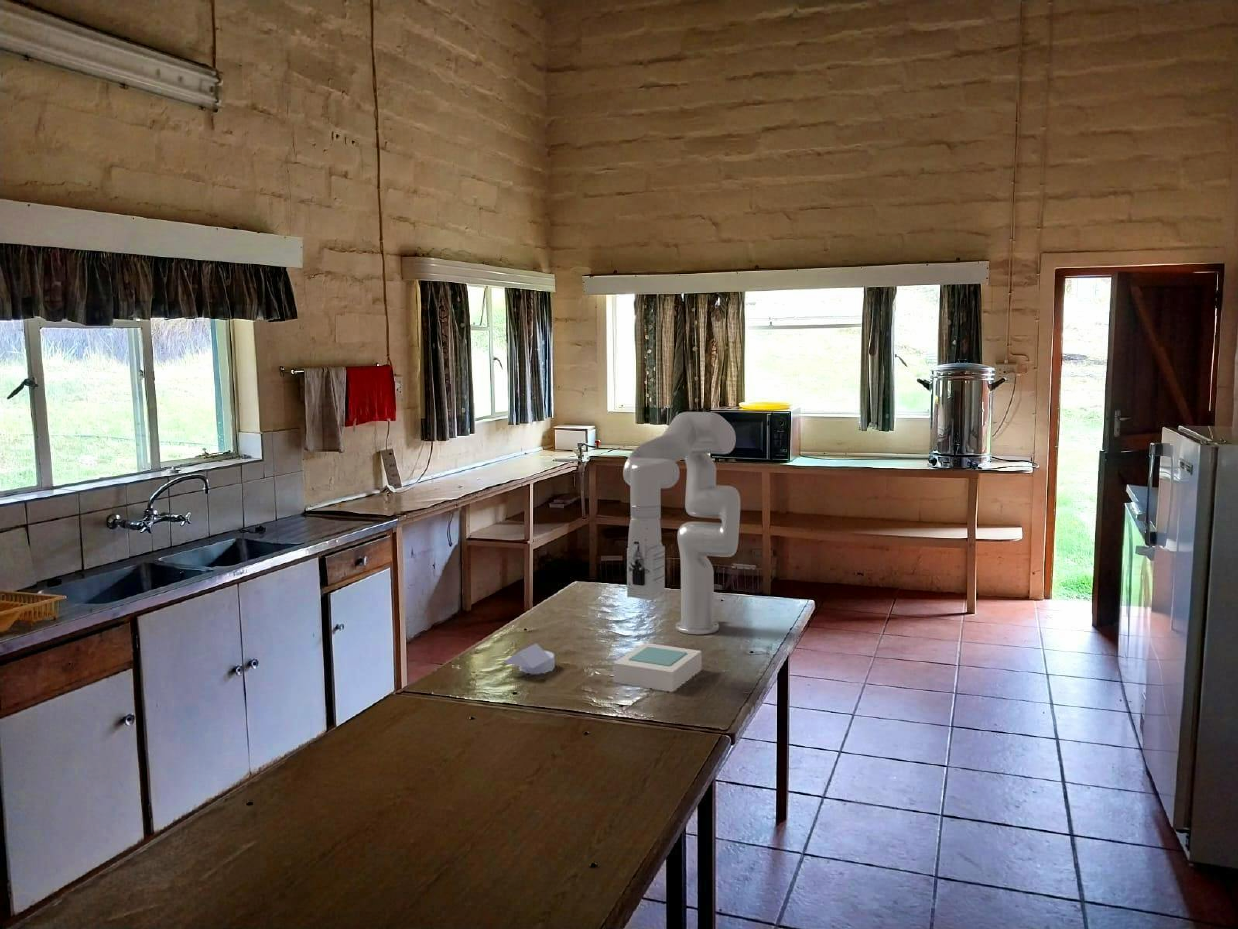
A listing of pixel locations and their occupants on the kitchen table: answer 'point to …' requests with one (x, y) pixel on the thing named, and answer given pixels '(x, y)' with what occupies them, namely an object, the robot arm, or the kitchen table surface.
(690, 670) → the stand
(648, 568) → the supplement box
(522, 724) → the kitchen table surface
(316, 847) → the kitchen table surface
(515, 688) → the kitchen table surface
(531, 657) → the wedge on round base
